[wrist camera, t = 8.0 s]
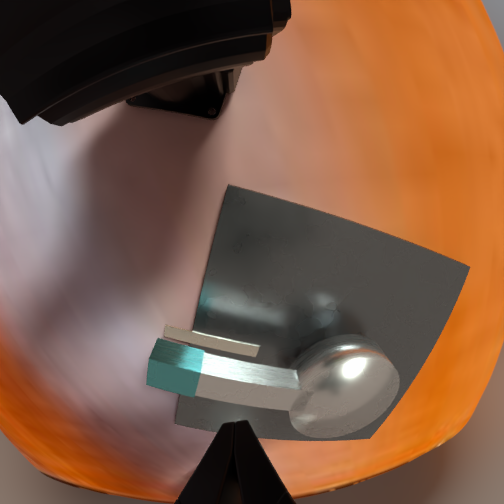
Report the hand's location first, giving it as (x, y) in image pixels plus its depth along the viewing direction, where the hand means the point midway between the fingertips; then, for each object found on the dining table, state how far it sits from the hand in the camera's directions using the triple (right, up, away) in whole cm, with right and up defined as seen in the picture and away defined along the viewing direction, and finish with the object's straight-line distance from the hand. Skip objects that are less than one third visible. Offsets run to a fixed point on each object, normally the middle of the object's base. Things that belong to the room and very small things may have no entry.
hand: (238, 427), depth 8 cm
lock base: (+7, -3, +14) cm, 15 cm away
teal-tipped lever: (+2, -2, +10) cm, 11 cm away
